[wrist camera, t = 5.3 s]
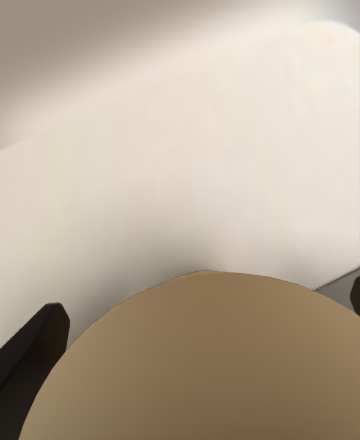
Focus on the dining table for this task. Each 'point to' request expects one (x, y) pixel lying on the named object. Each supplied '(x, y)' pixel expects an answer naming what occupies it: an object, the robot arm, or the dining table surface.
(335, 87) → the dining table surface
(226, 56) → the dining table surface
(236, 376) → the birch roller
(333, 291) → the support pad
